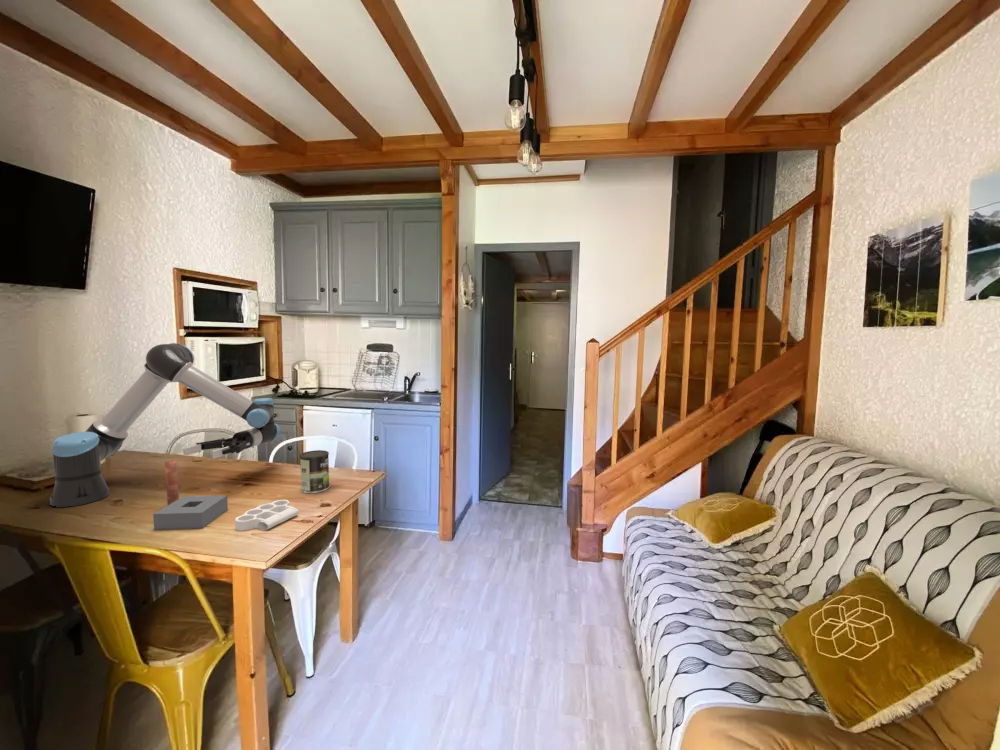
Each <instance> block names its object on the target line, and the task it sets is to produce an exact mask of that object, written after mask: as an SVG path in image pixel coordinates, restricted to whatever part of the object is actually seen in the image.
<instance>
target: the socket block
mask: <svg viewBox="0 0 1000 750" xmlns="http://www.w3.org/2000/svg"><path fill="white" fill-rule="evenodd" d="M228 510H229V504H228V495H227V494H226V495H225V494H224V495H222V494H221V495H194V496H193V495H190V496H189V495H188V496H187V495H186V496H184V495H183V496H182V497H179V499H178V500H176V501H175V502H173V503H171V504H170V505H168V506H167V505H166V506H164V507H163V508H161V509H159V510H158V511H156V512H154V513H153V514H152V515H153V516H152V517H153V530H155V531H157V530H158V531H159V530H161V531H162V530H186V529H187V530H189V529H204V528H205V527H206V526H208V525H209V524H210V523H212V522H213V521H215V520H216V519H217V518H218V517H219V516H222V514H224V513H225V512H226V511H228Z"/></svg>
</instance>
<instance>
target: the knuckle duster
mask: <svg viewBox="0 0 1000 750" xmlns="http://www.w3.org/2000/svg"><path fill="white" fill-rule="evenodd" d="M297 515H299V510H298V508H296V507H293V506H291V505H290V501H289V500H288V499H277V500H274V501H273V502H269V503H263V504H259V505H258V506H257V507H255V508H250V509H248V510H247V511H244V513H243V514H242V515H239V516H236V517H235V520H234V524H235V525H234V526H235V530H236V531H240V532H246V531H250V530H253V529H260V530H263V531H267V530H269V529H271V528H273V527H275V526H277V525H279V524H282V523H283V522H285V521H288V520H290V519H292V518H294V517H296V516H297Z"/></svg>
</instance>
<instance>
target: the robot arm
mask: <svg viewBox="0 0 1000 750" xmlns="http://www.w3.org/2000/svg"><path fill="white" fill-rule="evenodd" d="M194 360H195V357H194V353H193V351H192V350H191V349H190V348H189V347H187V346H186V345H184V344H180V343H176V342H172V343H161V344H157V345H155V346H152V347H151V348H150V349H149V350H148V351H147V353H146V356H145V362H146V363H145V364H144V365H143V367H144V372H143V373H142V374H141V375H140V376H139V377H138V378H137V380H136V381H135V382H134V383H133V384H132V386H131V387H130V388H129V389H128V390H127V391H126V392H125V393H124V395H122V396H121V398H120V399H119V400H118V401H117V403H116V404H114V406H113V407H112V408H111V409H110V410H109V411H108V413H107V414H106V415H105V416H104V417H103V418H102V419H98V420H94V421H93V422H92V423H91V425H90V426H89V427H88V428H87V429H86V430H85V431H79V432H72V433H69V434H63V435H61V436H58V437H57V438H56V439H54V440H53V441H52V446H51V447H52V448H51V453H52V460H53V471H54V479H55V482H54V486H53V489H52V491H51V495H50V497H49V505H52V506H56V507H55V508H69V506H70V507H75V506H76V507H77V506H81V505H82V506H83V505H87V504H90V503H94V502H96V501H100V500H102V499H105V498H106V497H109V495H110V487H109V486H108V485H107V483H106V480H105V478H104V476H103V475H102V465H101V464H102V463H101V461H103V460H105V459H107V458H109V457H111V456H113V455H115V454H117V452H118V451H119V450H120V449H121V447H122V446H123V444H124V441H125V440H126V439H127V437H128V436H129V433H128V430H129V429H130V427H131V426H132V425H133V424H134V423H135V422H136V420H137V419H138V418H139V417H140V416H141V415H142V413H144V411H145V410H146V409H147V408H148V407H149V406H150V405H151V404H152V403H153V401H154V400H155V399H156V397H157V396H158V395H159V394H160V393H161V392H162V390H164V388H165V387H166V386H167V385H168V384H170V383H179V384H181V385H182V386H184V387H186V388H188V389H189V390H192V391H193V392H195V393H197V394H199V395H200V396H203V397H204V398H206V399H207V400H210V401H211V402H213V403H215V404H216V405H218V406H220V407H222V408H223V409H225V410H227V411H229V412H231V413H232V414H234V415H236V416H237V417H239V418H241V419H242V420H244V421H246V422H247V424H248V425H249V426H250V427H251V428H249V429H246V430H242V431H238V432H235V433H234V434H233V435H232V437H228V438H225V437H224V438H219V439H214V440H208V441H202V442H196V443H195V444H194V445H191V446H187V447H184V448H182V454H183V456H184V457H186V456H189V455H193V454H197V453H201V452H202V451H207V450H212V449H213V450H212V451H211V454H212V459H217V458H219V457H223V456H224V457H225V456H226V455H229V454H235V453H236V454H239V453H241V452H243V451H244V450H249V449H250V448H255V447H256V446H259V445H262V444H265V443H270V442H273V441H275V440H277V439H278V438H279V437H280V436H281V434H282V432H281V431H282V429H281V427H280V425H279V424H277V423H276V422H275V413H274V406H275V405H274V400H273V398H271V397H262V398H255V399H254V400H253V401H252V400H251V399H249V398H247V397H246V396H243V395H242V394H241V393H239V392H237V391H235V390H234V389H232V388H230V387H229V386H227V385H225V384H224V383H222V382H220V381H219V380H217V379H215V378H213V377H212V376H211V375H208V374H207V373H205V372H203V371H202V370H200V369H198V368H197V367H195V366H193V364H194V362H195V361H194ZM183 456H182V457H183ZM52 506H51V507H52Z"/></svg>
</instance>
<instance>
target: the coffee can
mask: <svg viewBox="0 0 1000 750" xmlns="http://www.w3.org/2000/svg"><path fill="white" fill-rule="evenodd" d="M329 455H330V453H329V451H327V450H320V449H317V450H310V451H309V450H308V451H305V452H302V453H300V454H299V458H300V459H299V460H300V464H299V465H300V467H299V468H300V491H301V493H303V494H319V493H323V492H324V491H327V490H329V489H330V469H329V468H330V467H329V466H330V465H329V464H330V463H329V462H330V460H329Z"/></svg>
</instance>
